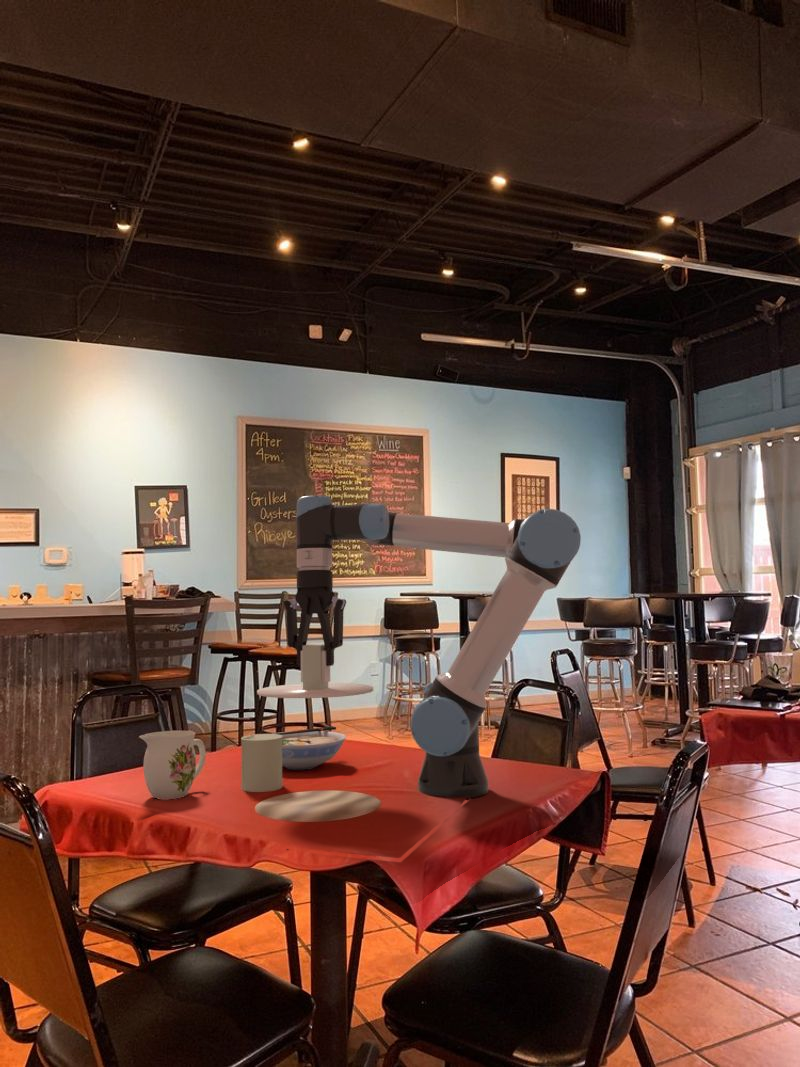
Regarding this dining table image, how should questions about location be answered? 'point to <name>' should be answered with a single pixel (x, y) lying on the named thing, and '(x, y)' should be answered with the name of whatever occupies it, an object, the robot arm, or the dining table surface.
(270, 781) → the can
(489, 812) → the dining table surface
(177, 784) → the pitcher
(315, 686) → the lid
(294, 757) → the ramen bowl
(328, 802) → the disc
